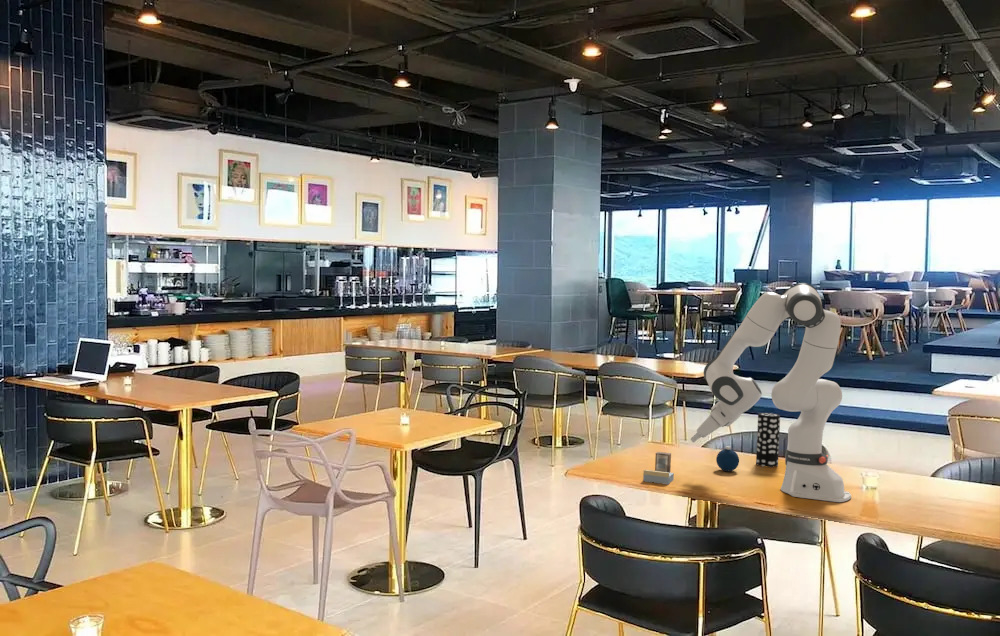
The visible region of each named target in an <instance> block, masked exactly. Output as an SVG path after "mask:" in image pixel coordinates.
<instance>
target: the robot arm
mask: <svg viewBox="0 0 1000 636" xmlns="http://www.w3.org/2000/svg"><path fill="white" fill-rule="evenodd" d="M788 318H791V319H792V321H794V322H796V323H798V324H800V325H802V326H804V327H805V329H804V330H805V331H804V336H803V338H802V343H801V346H800V350H799V353H798V357H797V359H796V362H795V363H794V365H793V367H792V368H791V369H790V371H788V373H787V374H786V375H785V377H783V378H782V379H780V380H779V381H778V382H776V383H775V384H774V385H773V387H772V390H771V401H772V402H773V405H774V406H775V408H777V409H779V410H782V411H786V412H795V413H796V412H800V414H799V416H798V418H797V419H796V420H795V421H794V422H792V423H791V424H790V425H789V427H788V430H787V448H786V450H785V451H786V452H785V455H784V456H785V457H784V462H785V463H784V464H785V470H784V471H785V472H784V475H783V481H782V485H781V487H780V490H781V491H782V492H783V493H786V494H788V495H790V496H791V497H793V498H795V497H796V498H801V499H811V500H819V501H825V502H834V503H843V502H844V503H845V502H847V501H849V500H851V498H852V494H851V493H850V492H849V491H845V483H844V479H843V477H842V476H841V475H839V473H837V472H836V471H835V470H834V469H832V467H830V465H828V456H829V455H828V454H824V453H823V452H822V451H823V450H822V447H823V446H822V445H823V436H824V429H825V425H826V423H827V421H828V419H829V417H830V416H831V414H832V412H833V411H834V410H836V408H838V407H839V406H840V404H841V402H842V399H843V391H842V389H841V387H840V385H839V384H838V383H837V382H835V381H832V380H828V379H823V378H821V377H822V376H823V375H824V374H826V373H828V372H830V370H831V369H832V368H833V365H834V362H835V357H836V354H837V353H836V352H837V351H838V350H837V349H838V346H839V342H840V336H841V324H842V323H841V318H840V317H839V315H838V314H837V313H835V312H833V311H832V310H828V309H824V308H823V304H822V299H821V297H820V295H819V292H818V290H817V289H816V288H815V287H814V286H813V285H812V284H809V283H807V282H800V283H796V284H794V285H792V286H790V287H789V288H787V289H786V290H783V291H781V293H780V294H778V293H776V292H772V291H771V292H770V291H767V292H764V293H763V294H762V295H761V296H759V297H758V299H757V300H756V301H755V303H754V304H753V305H752V307H750V309H749V311H748V312H747V314H746V315H745V317H744V318H743V320H742V322H741V323H740V325H739V327H738V328H737V329H736V330H735V331H734V333H733V334H732V335H731V336H730V338H729V339H728V341H727V342H726V344H725V345H724V346H723V347H722V349H721V351H720V352H719V353H718V354H717V355H716V356H715V357H714V358H712V359H710V361H708V362H707V363H706V365H705V366H704V369H703V379H705V381H706V383H707V385H708V387H709V389H710V391H711V393H712V395H713V396H714V398H716V399H718V400H719V401H718V402H716V403H715V404H714V405H713V406H712V407H710V410H711V411H710V413H709V415H708V417H707V418H706V419H705V420H704V421H703V422H702V423H701V424H700V425H699V427H698V428H697V429H696V433H695V434H694V435H693V436H692V437H691V438H690V441H691V442H692V443H695V442H696V441H698V440H700V438H703V439H704V438H706V437H708V436H709V435H711V434H712V433H714V432H716V431H717V430H718V429H720V428H724V427H730V426H731V425H732V424H733V423H734V422H736V421H738V419H739V418H740V417H741V415H742V414H744V413H745V412H747V411H749V410H750V409H752V408H753V406H754V405H756V403H757V402H759V400H761V397H762V395H763V393H762V391H761V388H760V386H759V384H758V383H757V382H756V381H755V379H754V378H752V377H743V376H739V375H737V374H734V365H735V363H736V362H737V361H738V359H739V357H740V356H741V355H742V354H743V352H744V351H745V350H746V349H747V348H748V347H753V348H756V347H757V348H759V347H760V348H761V347H764V346H765V345H766V344H768V343H769V342H770V341H771V339H772V338H773V337H774V335H775V333H776V332H777V330H778V329H779V327H780V325H781V324H782V322H784V321H785V320H786V319H788Z"/></svg>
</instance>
